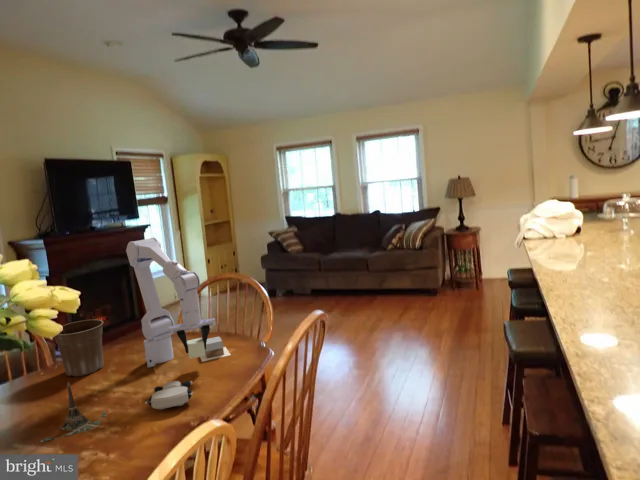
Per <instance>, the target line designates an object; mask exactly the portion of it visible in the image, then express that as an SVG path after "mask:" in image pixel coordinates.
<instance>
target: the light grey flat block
mask: <svg viewBox="0 0 640 480" xmlns="http://www.w3.org/2000/svg"><path fill="white" fill-rule="evenodd" d="M223 347H224V343H223V340H222V338H221V337H220V336H216V337H211V338H207V342H206V349H205V350H206V352H207V351H211V350H215V349H220V348H223Z"/></svg>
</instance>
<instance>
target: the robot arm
mask: <svg viewBox="0 0 640 480" xmlns="http://www.w3.org/2000/svg"><path fill="white" fill-rule="evenodd" d="M125 252H126V255H127V258H128V262H129V265H130V266H131V267H133V269H134V273H135V277H136V279H137V282H138V287H139V290H140V293H141V297H142V300H143V304H144V308H145V314H144V315H143V317H142V319H141V320H140V322H141V331H142V335H143V336H144V338H145V340H143V345H144V346H143V347H144V353H145V356H144V359H145V362H146V364H147V368H152V367H153V368H154V367H156V364H161V363H165V362H170V361H171V360H173V359H174V356H175V355H174V351H173V343H172V335H173V334H176V335H177V338H179V340H180V341H181V344H183V346H184V347H183V348H184V350H185V353H186V354H188V347H187V341H188V340H187V334H186V331H191V330H195V329H199V328H200V332H201V338H202V340H203V342H204V349H206V342H207V339H208V337H209V334H210V331H211V328H210V326H213V327H214V326H217V324H216V319H215V318H214V317H213V318H207V319H202V318H201V310H200V303H199V302H200V301H199V294H198V289H199V288H200V284H201V282H200V277H199V275H198V274H197V273H196V271H190V270H187V269H186V268H185V267H184V266H183V265H182V264H181V263H180V262H178V260H175V259H173V260H171V258H169V256H168V255H167V254H166V253H165V252H164V251H163V249H162V245H161V243H160V241H159V240H158V239H157V238H156V237H150V238H146V239H140V240H134V241H133V240H132V241H129V242H128V244H127V246H126V249H125ZM153 262H155V263H156V264H157V265H158V266H160V267H161V268H162V272H163V274H164V275H165V276H166V277H167V278H168V279H169V280H170V281H171V282H172V283H173V288H174V290H175V292H176V294H177V295H176V296H177V298H178V299H179V304H180V311H181V317H182V323H178V324H176V323H175V322H174V319H173V318H172V316H171V313H170V311H169V310H166V309H165V308H162V303H161V301H160V298H159V294H158V292H157V287H156V284H155V280H154V277H153V274H152V271H151V267H150V266H151V264H152V263H153ZM175 324H176V325H175Z"/></svg>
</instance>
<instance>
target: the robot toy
mask: <svg viewBox="0 0 640 480" xmlns="http://www.w3.org/2000/svg"><path fill="white" fill-rule="evenodd" d="M192 384H193V380H186V381H183V382H182V383H181V381H179V380H172V381H168V382H166V383H164V384H163V386H162V387H161V386H159V385H157V386H156V387H154V388H153V389H152V390H153V391H154V393H152V395H150V397H149V398H148V399H147V401H145V403H144V404H145V405H147V404H148V405H149V407H151V408H152V409H156V410H160V411H161V410H165V409H168V408H173V407H182V406H184V405H185V404H186V403H188V402H189V400H190V399H191V397H192V395H193V394H194V392H193V390H191V389H190V388H191V387H192V386H191V385H192Z"/></svg>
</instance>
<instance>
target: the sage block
mask: <svg viewBox="0 0 640 480" xmlns="http://www.w3.org/2000/svg"><path fill="white" fill-rule="evenodd" d="M186 341H187V347H188V353H187V356H188V358H189V359H195V358H198V357H199V358H200V356H204V355H205V349H204V342H203V340H202V337H198V338H194V339H190V340H186Z"/></svg>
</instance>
